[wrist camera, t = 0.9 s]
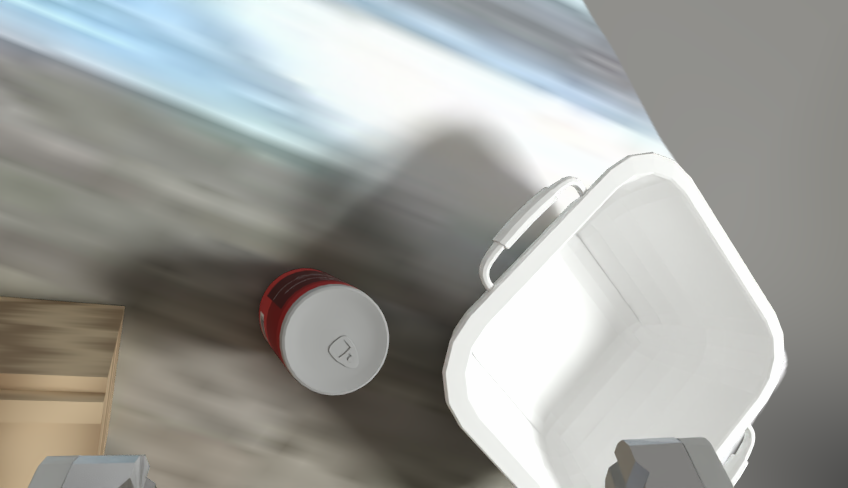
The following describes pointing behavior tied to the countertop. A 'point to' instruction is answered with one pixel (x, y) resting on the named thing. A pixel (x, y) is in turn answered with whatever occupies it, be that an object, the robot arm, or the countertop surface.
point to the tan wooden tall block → (54, 381)
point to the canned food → (324, 331)
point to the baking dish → (613, 332)
